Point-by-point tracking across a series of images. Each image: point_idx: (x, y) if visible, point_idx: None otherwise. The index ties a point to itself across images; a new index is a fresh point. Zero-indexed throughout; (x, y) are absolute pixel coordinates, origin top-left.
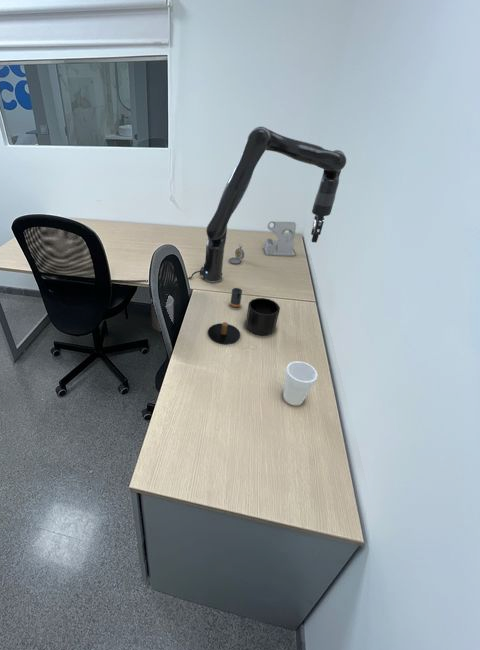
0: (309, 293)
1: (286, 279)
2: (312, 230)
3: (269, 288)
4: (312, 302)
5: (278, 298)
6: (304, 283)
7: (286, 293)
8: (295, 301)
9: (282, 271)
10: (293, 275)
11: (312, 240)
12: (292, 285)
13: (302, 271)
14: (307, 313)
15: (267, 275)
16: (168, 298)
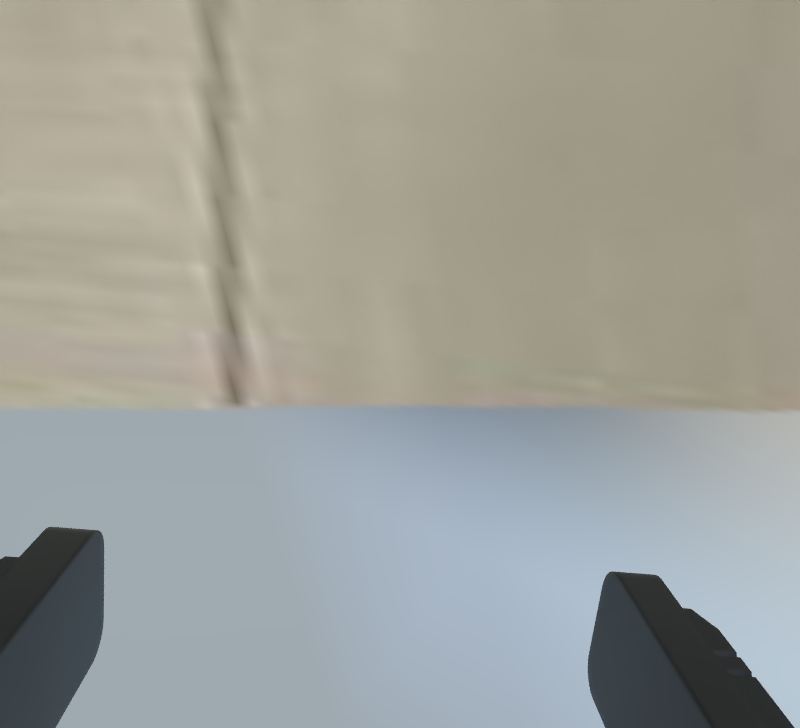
0: (366, 394)
1: (591, 211)
2: (657, 655)
3: (381, 24)
4: (221, 402)
5: (210, 107)
6: (537, 371)
7: (320, 191)
8: (199, 262)
9: (754, 182)
10: (679, 285)
11: (35, 560)
12: (481, 259)
13: (768, 376)
14: (35, 343)
15: (652, 13)
16: None
